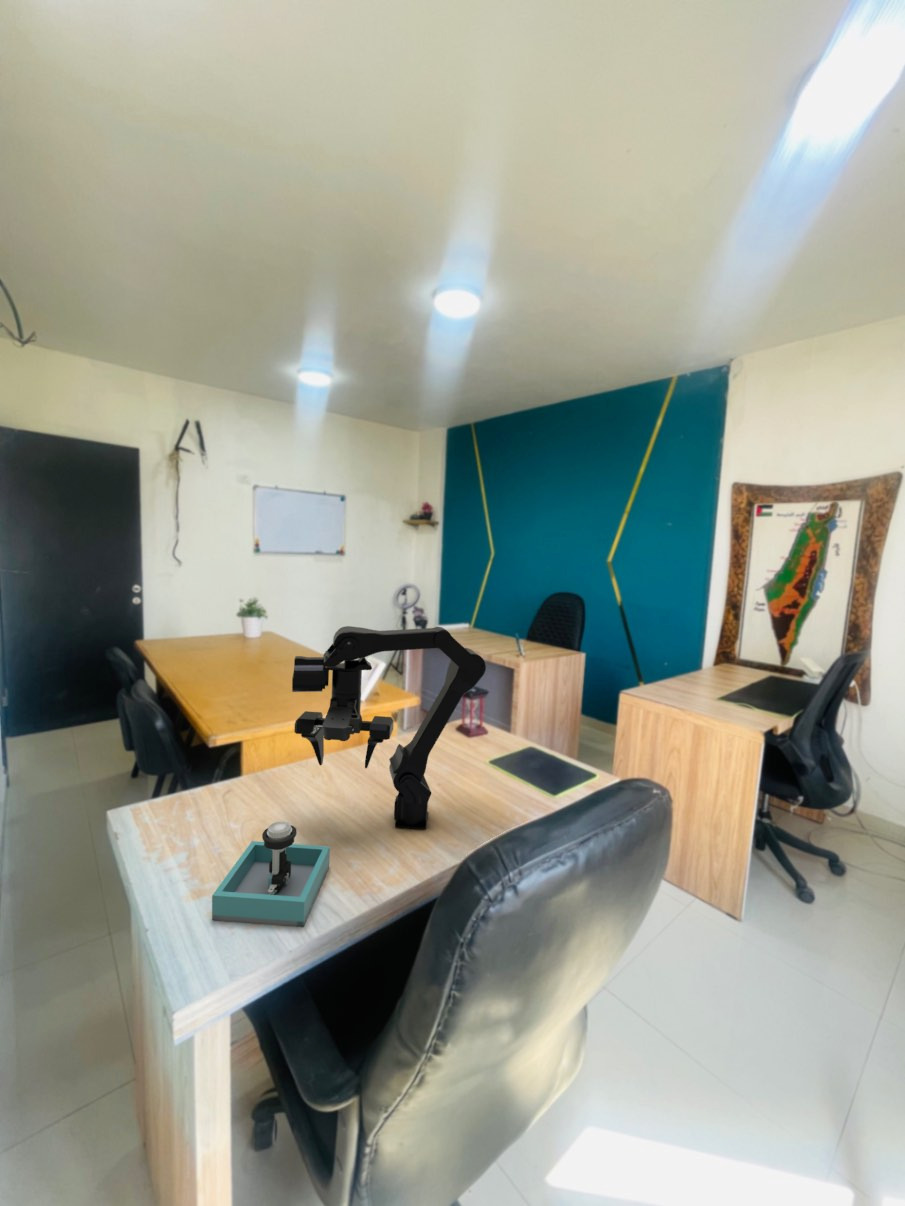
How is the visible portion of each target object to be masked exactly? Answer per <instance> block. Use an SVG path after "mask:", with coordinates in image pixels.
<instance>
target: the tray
mask: <svg viewBox="0 0 905 1206" xmlns="http://www.w3.org/2000/svg"><path fill="white" fill-rule="evenodd" d="M330 848H331V846H328V845H313V844H300V843H299V844H298V843H297V844H296V843H293V844H292V845H291V846H288V847H287V848H286V855H287V861H291V875H290V877H289V881H288V879H287V881H288V883H287V885H286V881H285V882H284V884H283V886H282V888H281V890H280V892H279V893H277V892H276V893H275V894H274V895H272V894H271V895H269V893H270V892H268V878H269V875H270V872H269V864H270V862H271V861H272V858H273V851H272V850H271V849H269V848H266V847H265V846H264V841H257V840H255V841H254V840H251V842H250V843H249V844H248V846H247V847H246V849H245V850H244V852H243V853H242V854H241V855H240V857H239V858H238V860H236V862H235V864H234V865H233V867H232V868H231V869H230V871H229V872H228V873H227V874H226V876H225V877H224V878H223V880H222V882H221V883H220V884H219V885H218V887H217V888H216V889H215V891H214V892H213V894H212V896H211V920H212V921H222V922H234V923H235V922H237V923H250V924H262V925H263V924H264V925H277V926H278V925H279V926H289V927H291V926H292V927H305V925H306V922H307V920H308V918H309V915H310V914H311V913H310V912H311V911H312V909H313V906H314V904H315V902H316V899H317V898H318V897H317V896H318V894H319V892H320V889H321V887H322V886H323V883H324V881H325V878H326V875H327V874H328V872H329V869H330V853H331V851H330V850H331V849H330Z"/></svg>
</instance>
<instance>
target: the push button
mask: <svg viewBox="0 0 905 1206" xmlns="http://www.w3.org/2000/svg"><path fill="white" fill-rule="evenodd" d="M297 834H298V833H297V828H296V827H295V826H294V825H292V824H291V823H290V822H288V821H285V820H284V821H283V820H281V821H275V822H273V823H271V824H270V825H269V826H268V827H267V828H265V829H264V831H263V832H262V835H261V837H262V839H261V840H263V842H264V846H265V847H266V848H269V849H271V850H272V851H273V858H272V861H271V862H270V864H269V872H270V875H269V878H268V892H270V893H269V895H271V894H272V895H274V894H275V893H276V892H277V893H279V892H280V890H281V888H282V886H283V884H284V882H285V881H286V885H287V883H288V881H289V877H290V875H291V861H287V855H286V848H287V847H288V846H291V845H292V844H295V837H296V836H297ZM287 879H288V881H287Z"/></svg>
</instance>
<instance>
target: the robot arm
mask: <svg viewBox="0 0 905 1206" xmlns="http://www.w3.org/2000/svg"><path fill="white" fill-rule="evenodd" d="M428 649H429V650H430V649H439V650H440V651H441V652H442V653H444V654H445V656H447V658H448V659H450V660H449V661H450V662H449V663H448V666H447V671H446V673H445V674H446V675H445V680H444V684H443V686H442V688H441V689H440V691H439V693H438V694H437V697H436V698H435V699H434V702H433V703H432V705H431V707H430V708H429V710H428V712H427V714H426V715H425V717H424V718H423V720H422V722H421V724H420V726H419V728H418V729H417V731H416V732H415V734H414V736H413V738H412V739H411V740H410V742H409V743H407V744H405V746H403V745H402V744H400V743H399V744H397V746H396V749H395V752H394V753H393V754H392V756H390V758H389V762H390V764H389V768H388V769H389V773H390V776H391V779H392V784H393V787H394V789H395V790H396V791H397V795H396V796H395V799H394V810H393V811H394V812H393V819H394V820H395V823H394V827H395V828H398V829H399V828H400V829H414V830H426V829H427V826H428V820H429V819H428V818H429V800H430V798H431V797H432V796H431V795H432V790H431V789H430V786H429V784H428V782H427V780H426V777H425V774H426V771H427V770H426V769H427V766H428V765H427V764H428V759H429V756H430V753H431V752H432V750H433V748H434V746H435V745H436V743H437V741H438V739H439V738H440V736H441V734H442V732H443V731H444V729H445V727H446V725H447V723H448V722H449V721H450V718H451V717H452V715H453V714H454V712H455V711H456V708H457V706H458V705H459V703H460V701H461V699H462V698H463V697H464V695H465V694H467V693H468V692H470V690H472V689H474V688H475V686H476V685H477V684H478V683H479V682H480V680H482V677H483V676H484V675H485V673H486V670H487V666H486V662H485V660H484V658H483V657H482V656H481V655H480V654H478V653H476V652H475V651H474V650H472V649H471V648H468V647H464V646H463V645H461V643H459V641H458V640H456V639H455V638H454V637H453V636H452V635H451V633H450V632H449V631H448V630H447V629H445V628H444V627H442V626H435V627H429V628H410V629H391V630H376V629H375V630H374V629H371V628H366V627H358V626H351V625H350V626H349V625H347V626H342V627H340V628H338V629H337V631H336V632H335V633H334V635H333V639H332V644H330V646H329V647H328V648H327V649H326V650H325V652H324V653H323V655H322V656H319V657H318V656H315V657H314V656H310V657H309V656H308V657H307V656H303V655H299V656H298V655H296V656H294V661H293V662H294V663H293V664H294V665H293V672H292V680H291V682H292V683H291V686H292V687H291V690H292V693H311V692H312V693H317V692H320V693H322V692H323V690H326V687H329V680H330V679H329V677H330V671H331V698H329V699H330V701H329V707H328V710H327V713H326V715H325V717H323V716H324V715H323V713H322V712H320V711H304V712H303V713H302V714H301V715H300V716H299V717H298V718H297V719H296V720H295V723H294V733H295V735H300V736H301V738H303V739H307V740H308V741H309V742H310V745H311V746H312V749H313V751H314V754H315V757H316V759H317V762H318V765H319V766H322V765H323V763H324V755H325V753H324V752H325V749H324V747H325V745H324V744H325V743H324V741H325V740H326V741H333V740H334V741H340V742H347V741H349V739H350V738H351V735H354V734H360V733H361V731H363V732H368V734H369V737H368V739H367V746H366V751H365V753H366V754H365V761H364V769H368V767H369V764H370V762H371V759H372V756H373V754H374V751H375V748H376V747H377V745H378V744H382V743H383V742H384V740H385V741H387V740H390V739H391V736H392V734H393V731H394V725H395V724H394V719H393V718H392V717H391V716H382V715H381V716H380V715H374V716H373V719H372V720H371V721H370V720H369V721H368V720H363V717H362V714H361V713H362V712H361V702H362V701H361V700H362V699H361V698H362V678H363V677H362V672H363V671H371V670H372V669H373V667H372V664H371V662H370V661H368V660H367V657H370V656H372V655H375V654H377V653H382V652H392V651H393V652H395V651H397V652H398V651H410V650H411V651H413V650H428Z"/></svg>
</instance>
